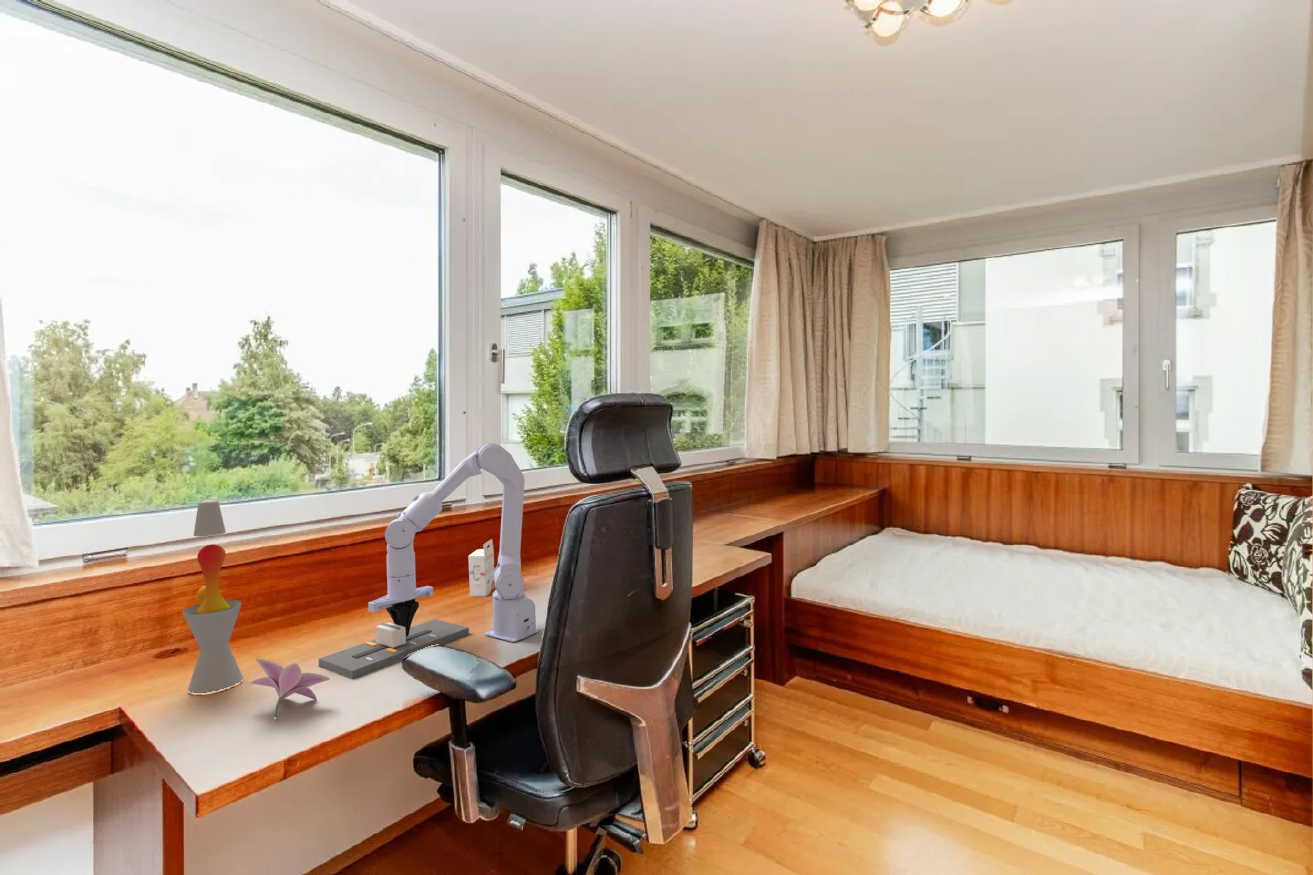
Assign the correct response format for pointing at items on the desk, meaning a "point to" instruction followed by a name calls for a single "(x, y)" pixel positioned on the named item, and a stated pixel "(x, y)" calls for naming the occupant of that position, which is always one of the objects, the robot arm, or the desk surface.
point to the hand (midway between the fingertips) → (403, 635)
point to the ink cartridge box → (481, 570)
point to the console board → (390, 649)
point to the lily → (288, 680)
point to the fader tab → (390, 634)
